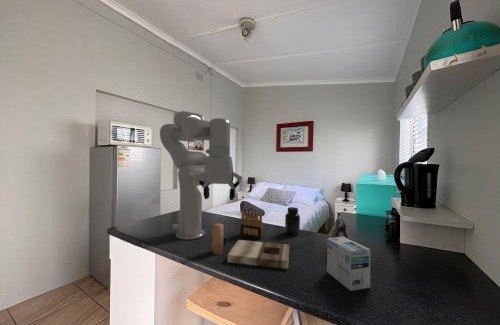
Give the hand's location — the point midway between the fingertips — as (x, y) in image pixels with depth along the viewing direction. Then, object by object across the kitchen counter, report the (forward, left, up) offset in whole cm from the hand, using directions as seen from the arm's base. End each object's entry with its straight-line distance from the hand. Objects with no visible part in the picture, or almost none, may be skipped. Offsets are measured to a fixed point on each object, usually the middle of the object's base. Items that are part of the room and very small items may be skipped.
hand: (219, 199), depth 80 cm
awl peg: (0, 0, -20) cm, 20 cm away
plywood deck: (+16, 0, -20) cm, 25 cm away
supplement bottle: (+27, +28, -20) cm, 44 cm away
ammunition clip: (+9, +19, -20) cm, 29 cm away
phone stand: (+45, +11, -20) cm, 50 cm away
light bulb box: (+43, -9, -20) cm, 48 cm away
